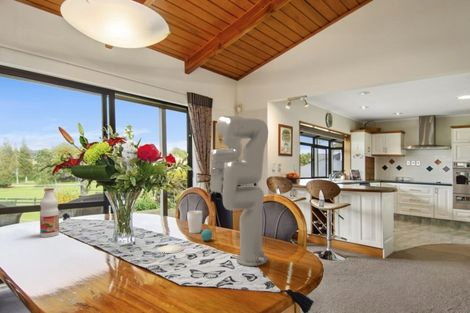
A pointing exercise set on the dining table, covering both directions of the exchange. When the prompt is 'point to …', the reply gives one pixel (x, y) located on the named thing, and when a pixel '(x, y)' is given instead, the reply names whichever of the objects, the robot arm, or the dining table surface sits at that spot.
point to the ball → (206, 234)
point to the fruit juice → (49, 214)
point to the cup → (194, 221)
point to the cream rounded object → (171, 249)
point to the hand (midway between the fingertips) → (218, 202)
